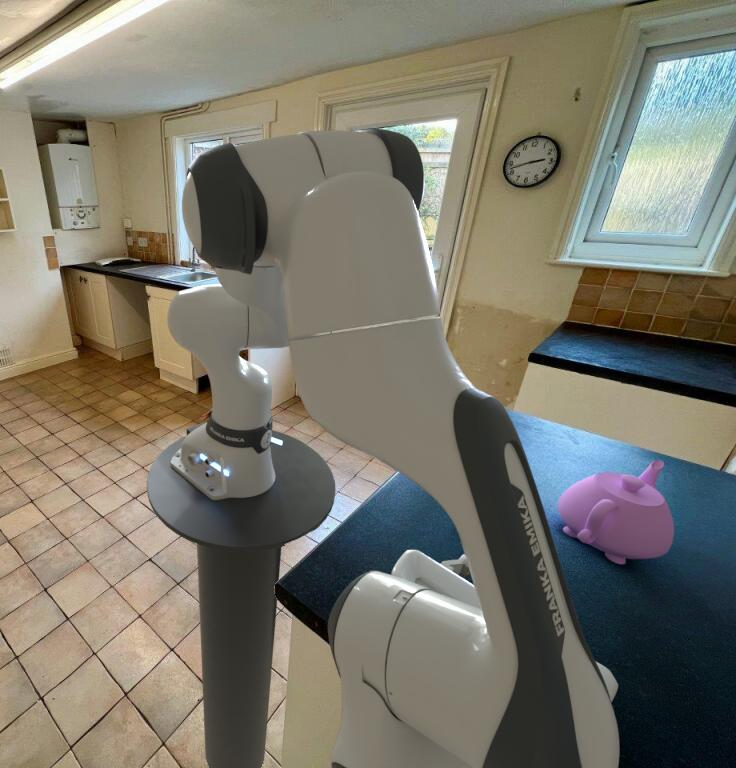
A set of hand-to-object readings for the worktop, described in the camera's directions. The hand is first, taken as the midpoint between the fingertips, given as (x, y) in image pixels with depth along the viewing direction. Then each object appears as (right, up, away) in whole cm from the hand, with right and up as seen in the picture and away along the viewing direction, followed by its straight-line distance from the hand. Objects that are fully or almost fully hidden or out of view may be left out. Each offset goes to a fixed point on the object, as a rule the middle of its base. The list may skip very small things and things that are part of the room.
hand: (511, 586), depth 48 cm
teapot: (+32, -3, +23) cm, 39 cm away
